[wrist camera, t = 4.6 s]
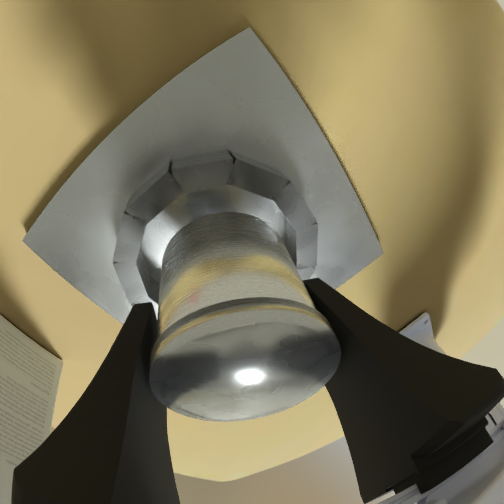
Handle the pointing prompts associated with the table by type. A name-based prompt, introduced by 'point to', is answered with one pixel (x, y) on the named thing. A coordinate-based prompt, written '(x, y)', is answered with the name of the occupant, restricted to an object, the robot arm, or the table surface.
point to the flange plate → (193, 125)
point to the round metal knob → (236, 324)
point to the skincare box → (23, 400)
